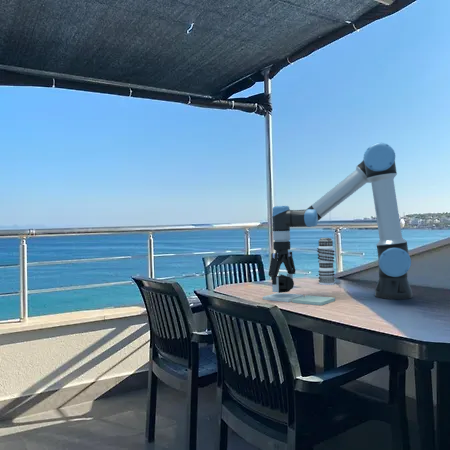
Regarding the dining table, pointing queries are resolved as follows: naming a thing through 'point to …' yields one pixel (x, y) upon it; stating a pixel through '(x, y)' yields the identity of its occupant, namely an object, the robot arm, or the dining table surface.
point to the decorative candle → (326, 261)
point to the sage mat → (313, 300)
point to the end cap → (285, 283)
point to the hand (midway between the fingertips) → (283, 290)
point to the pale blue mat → (282, 297)
